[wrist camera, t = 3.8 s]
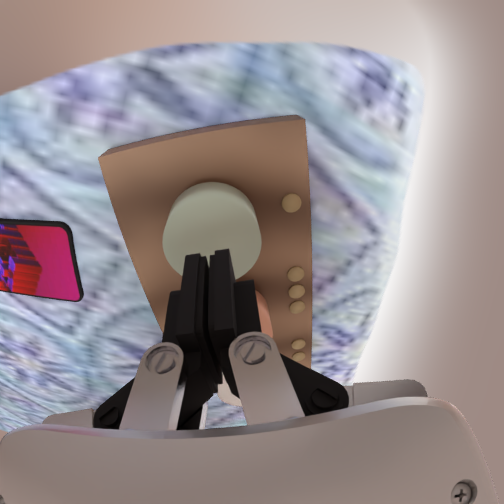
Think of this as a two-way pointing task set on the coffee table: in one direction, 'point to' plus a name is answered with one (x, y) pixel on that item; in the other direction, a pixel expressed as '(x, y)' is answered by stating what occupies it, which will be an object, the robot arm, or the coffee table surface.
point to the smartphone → (39, 260)
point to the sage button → (212, 227)
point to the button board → (242, 178)
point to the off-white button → (227, 394)
